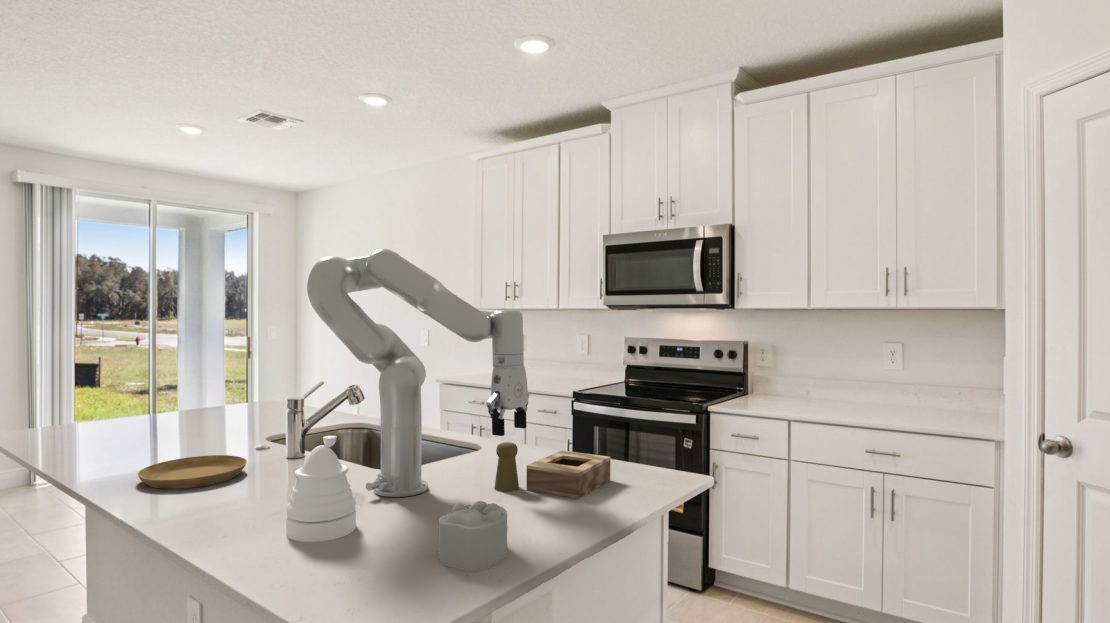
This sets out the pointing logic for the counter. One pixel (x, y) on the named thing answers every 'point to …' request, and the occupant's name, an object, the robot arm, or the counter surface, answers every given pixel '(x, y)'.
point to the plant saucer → (192, 471)
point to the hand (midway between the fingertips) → (509, 431)
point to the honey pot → (321, 498)
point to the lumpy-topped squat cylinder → (473, 536)
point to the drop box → (568, 474)
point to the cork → (506, 468)
